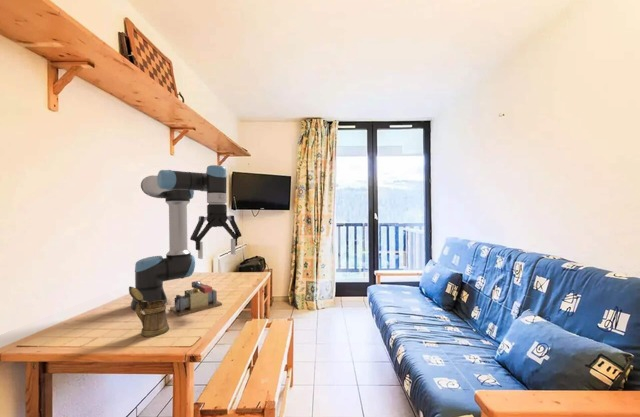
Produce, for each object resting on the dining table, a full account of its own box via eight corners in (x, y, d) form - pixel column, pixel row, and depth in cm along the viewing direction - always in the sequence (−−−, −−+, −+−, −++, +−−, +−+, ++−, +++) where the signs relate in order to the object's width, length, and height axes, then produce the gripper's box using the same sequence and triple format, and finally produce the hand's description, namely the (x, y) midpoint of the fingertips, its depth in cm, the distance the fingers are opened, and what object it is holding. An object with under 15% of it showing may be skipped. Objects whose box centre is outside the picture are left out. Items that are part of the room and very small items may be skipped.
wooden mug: (134, 329, 109) (134, 283, 109) (172, 325, 111) (171, 281, 112) (123, 339, 100) (123, 289, 100) (164, 335, 103) (164, 286, 103)
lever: (190, 286, 133) (190, 282, 133) (198, 285, 135) (198, 280, 135) (203, 293, 121) (203, 288, 121) (212, 291, 123) (212, 286, 123)
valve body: (169, 309, 130) (169, 288, 130) (211, 299, 144) (211, 280, 144) (178, 316, 121) (177, 293, 121) (222, 305, 135) (221, 284, 135)
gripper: (187, 203, 101) (188, 261, 101) (249, 203, 118) (249, 253, 118) (181, 203, 106) (181, 259, 106) (240, 204, 124) (241, 251, 123)
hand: (217, 256), depth 112 cm, fingers open, 13 cm apart
